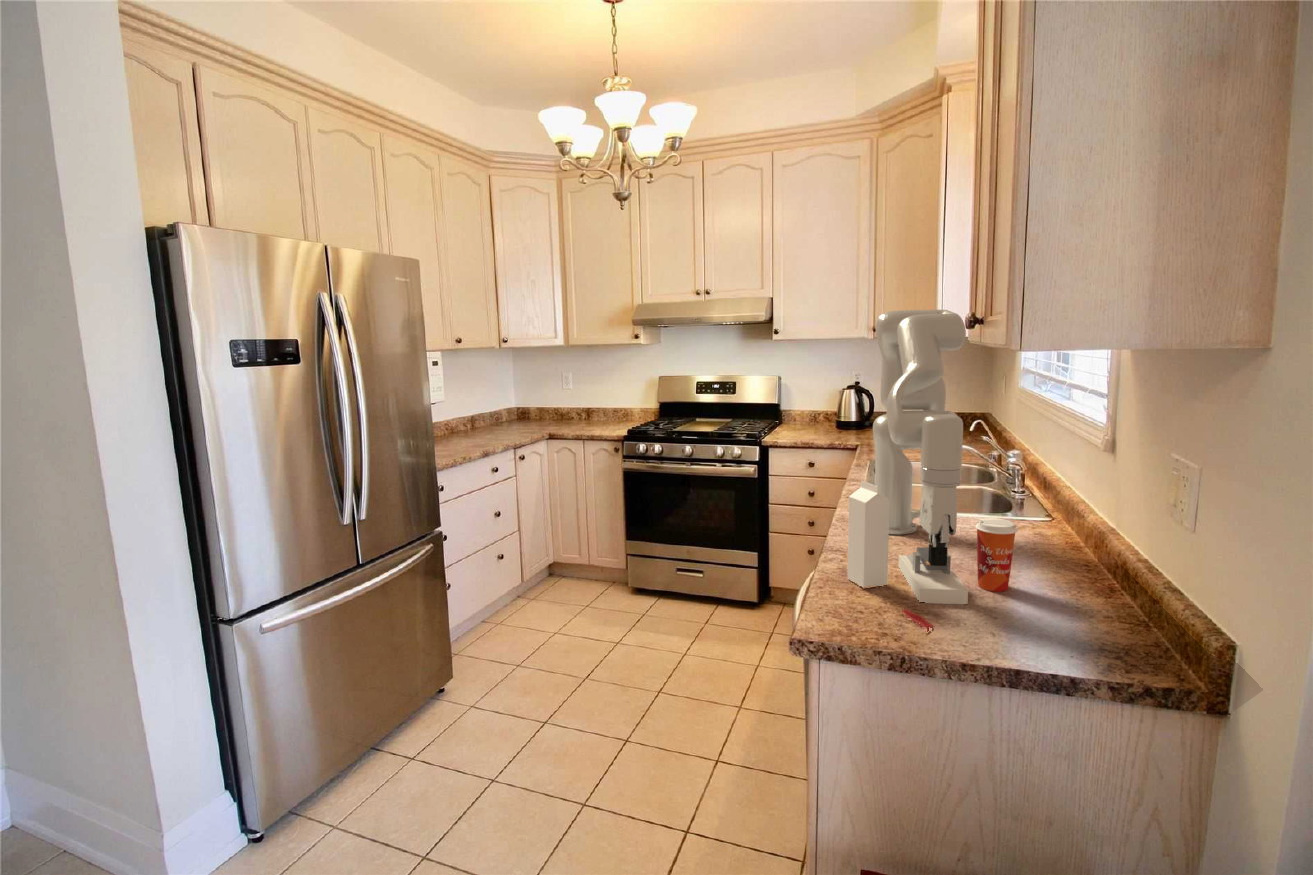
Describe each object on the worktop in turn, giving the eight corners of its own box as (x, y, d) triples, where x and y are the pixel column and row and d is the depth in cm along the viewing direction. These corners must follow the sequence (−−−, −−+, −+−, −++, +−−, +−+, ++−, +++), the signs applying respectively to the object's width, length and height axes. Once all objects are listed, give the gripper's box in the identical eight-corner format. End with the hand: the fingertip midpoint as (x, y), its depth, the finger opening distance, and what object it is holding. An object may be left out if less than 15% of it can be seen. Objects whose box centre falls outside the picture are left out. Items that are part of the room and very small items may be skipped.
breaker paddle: (916, 552, 143) (916, 546, 143) (935, 552, 142) (936, 547, 142) (926, 570, 134) (927, 564, 134) (947, 570, 134) (947, 564, 133)
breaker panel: (898, 567, 150) (899, 539, 149) (939, 568, 148) (941, 540, 147) (919, 602, 130) (920, 570, 129) (967, 604, 129) (969, 571, 128)
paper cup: (977, 592, 134) (980, 526, 132) (968, 579, 142) (972, 516, 140) (1019, 595, 133) (1023, 528, 130) (1008, 581, 140) (1012, 518, 138)
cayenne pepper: (937, 639, 116) (938, 629, 115) (910, 638, 116) (910, 627, 116) (923, 611, 127) (923, 601, 127) (898, 610, 128) (898, 600, 128)
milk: (870, 576, 145) (873, 479, 142) (887, 586, 139) (891, 484, 136) (846, 580, 143) (848, 481, 140) (863, 590, 137) (866, 487, 134)
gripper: (912, 469, 139) (909, 552, 142) (930, 483, 125) (927, 576, 127) (949, 469, 138) (946, 553, 140) (972, 484, 123) (968, 577, 126)
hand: (937, 564), depth 134 cm, fingers closed
